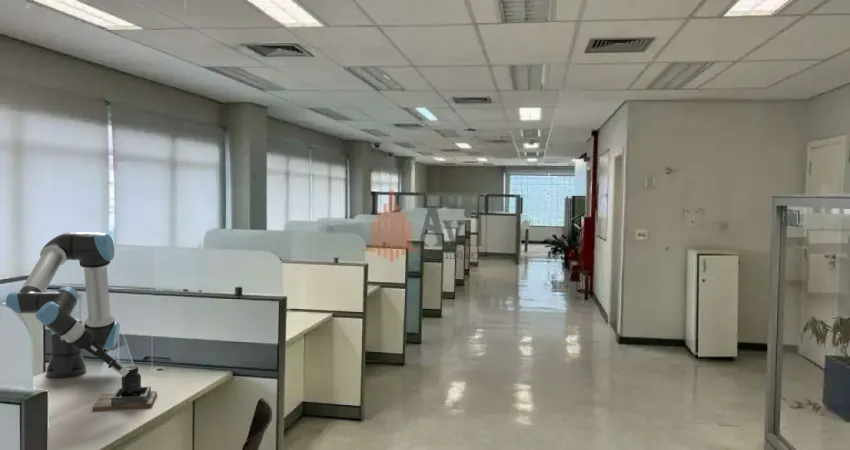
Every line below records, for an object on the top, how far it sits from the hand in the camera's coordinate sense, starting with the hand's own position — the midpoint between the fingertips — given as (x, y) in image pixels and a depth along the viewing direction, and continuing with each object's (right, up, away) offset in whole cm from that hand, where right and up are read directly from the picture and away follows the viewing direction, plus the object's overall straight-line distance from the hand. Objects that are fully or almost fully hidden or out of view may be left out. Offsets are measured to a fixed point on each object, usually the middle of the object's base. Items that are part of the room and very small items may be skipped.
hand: (121, 369), depth 235 cm
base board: (0, -13, +3) cm, 14 cm away
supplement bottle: (+2, -12, +4) cm, 13 cm away
